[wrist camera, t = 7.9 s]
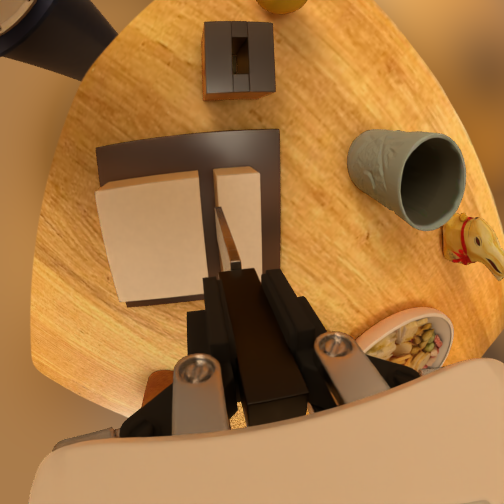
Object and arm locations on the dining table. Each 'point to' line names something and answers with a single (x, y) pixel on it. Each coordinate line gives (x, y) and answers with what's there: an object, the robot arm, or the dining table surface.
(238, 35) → the knife block
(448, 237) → the chocolate bunny
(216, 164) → the cake board
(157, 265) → the cake
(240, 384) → the knife
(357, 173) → the grey green embossed vase
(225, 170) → the cake slice
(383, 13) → the dining table surface
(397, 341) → the bowl
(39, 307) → the dining table surface
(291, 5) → the lemon
